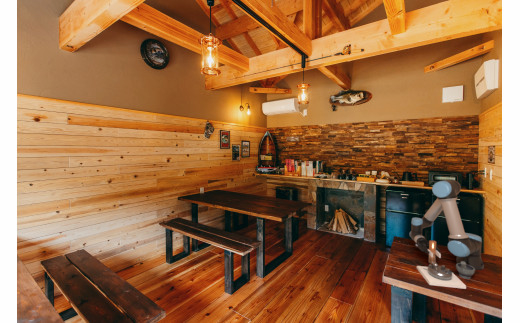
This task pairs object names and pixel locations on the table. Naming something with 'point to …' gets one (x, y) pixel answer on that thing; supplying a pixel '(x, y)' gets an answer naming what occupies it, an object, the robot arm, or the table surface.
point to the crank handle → (435, 269)
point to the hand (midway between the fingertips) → (436, 255)
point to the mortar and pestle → (465, 270)
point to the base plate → (454, 282)
